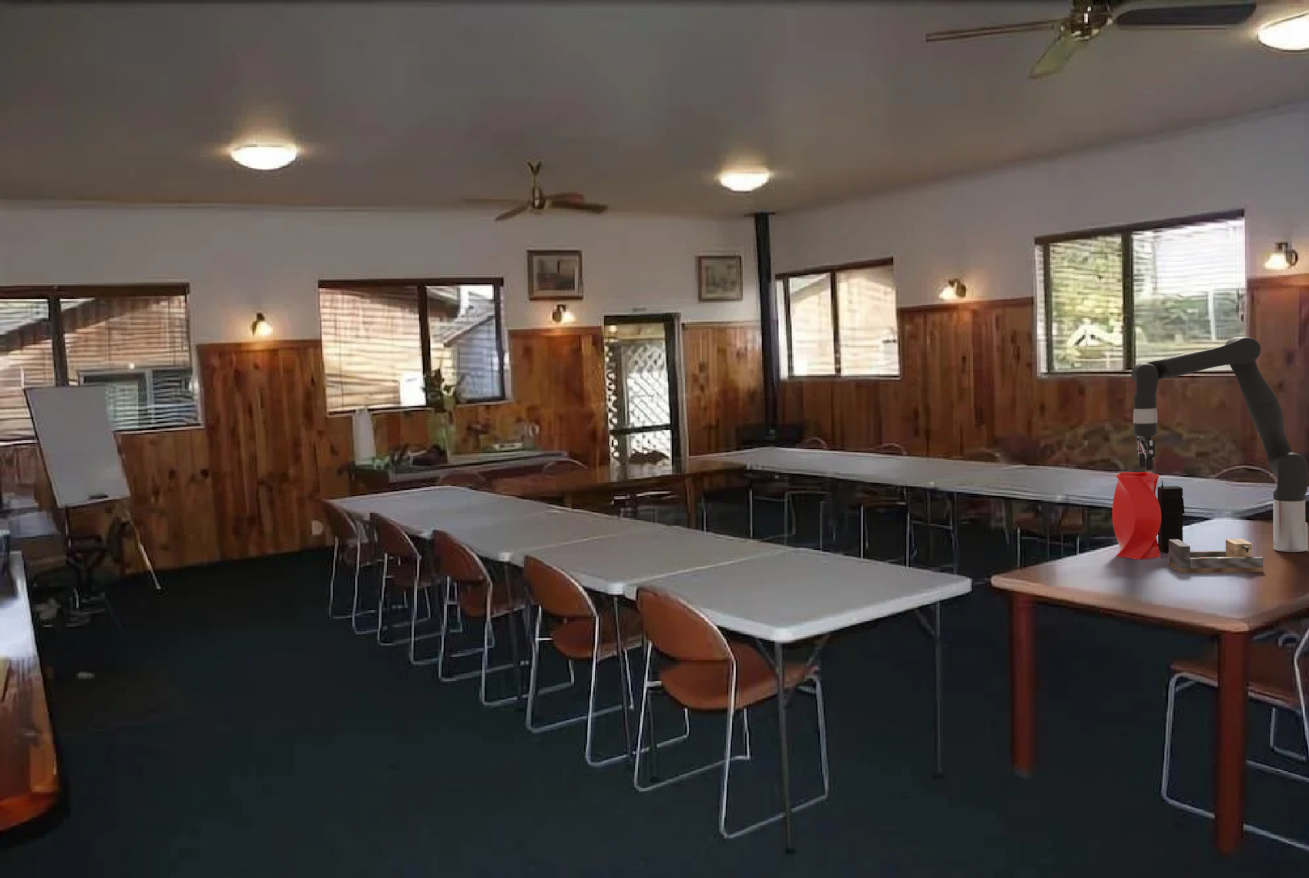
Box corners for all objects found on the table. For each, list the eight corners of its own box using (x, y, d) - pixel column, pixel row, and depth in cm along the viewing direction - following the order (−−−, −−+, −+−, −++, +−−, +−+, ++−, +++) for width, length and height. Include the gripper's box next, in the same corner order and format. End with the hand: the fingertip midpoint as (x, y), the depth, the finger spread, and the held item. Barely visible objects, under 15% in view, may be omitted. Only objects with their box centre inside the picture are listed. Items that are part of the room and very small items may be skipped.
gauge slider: (1242, 559, 334) (1242, 538, 333) (1256, 567, 323) (1256, 545, 322) (1225, 560, 335) (1225, 539, 334) (1238, 567, 324) (1238, 546, 323)
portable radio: (1180, 549, 363) (1179, 478, 361) (1187, 553, 357) (1186, 480, 355) (1156, 550, 364) (1155, 479, 362) (1163, 553, 358) (1162, 481, 356)
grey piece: (1249, 564, 335) (1248, 538, 335) (1263, 572, 324) (1263, 545, 323) (1168, 565, 340) (1168, 539, 339) (1180, 573, 328) (1179, 546, 328)
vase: (1164, 559, 349) (1163, 476, 347) (1118, 559, 352) (1116, 477, 350) (1152, 550, 364) (1151, 471, 362) (1108, 551, 367) (1106, 472, 364)
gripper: (1163, 422, 350) (1163, 470, 352) (1151, 419, 364) (1151, 465, 366) (1139, 423, 352) (1139, 471, 353) (1128, 420, 366) (1129, 466, 367)
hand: (1146, 468), depth 359 cm, fingers open, 8 cm apart
